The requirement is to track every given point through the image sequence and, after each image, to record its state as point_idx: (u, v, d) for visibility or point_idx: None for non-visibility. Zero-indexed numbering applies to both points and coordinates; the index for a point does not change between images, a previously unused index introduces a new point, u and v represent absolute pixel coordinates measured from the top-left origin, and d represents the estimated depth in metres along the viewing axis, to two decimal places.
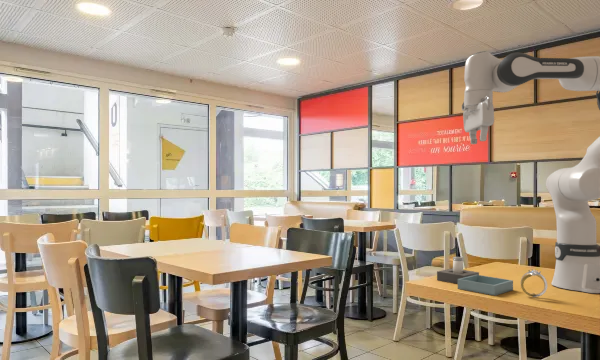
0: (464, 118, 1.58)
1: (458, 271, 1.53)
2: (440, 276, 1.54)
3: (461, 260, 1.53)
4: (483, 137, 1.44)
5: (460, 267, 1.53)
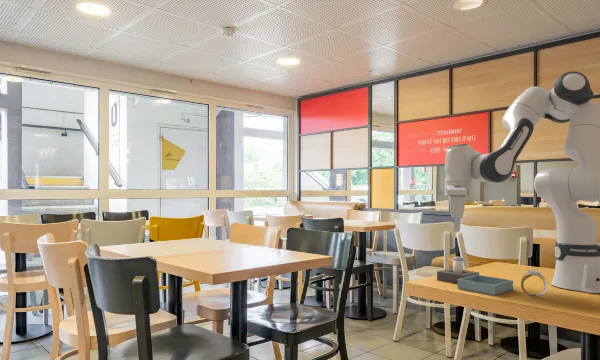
0: None
1: (458, 271, 1.53)
2: (440, 276, 1.54)
3: (461, 260, 1.53)
4: None
5: (460, 267, 1.53)
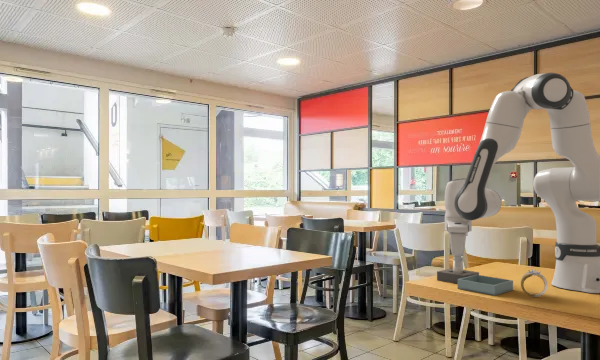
0: None
1: (458, 271, 1.53)
2: (440, 276, 1.54)
3: (461, 260, 1.53)
4: None
5: (460, 267, 1.53)
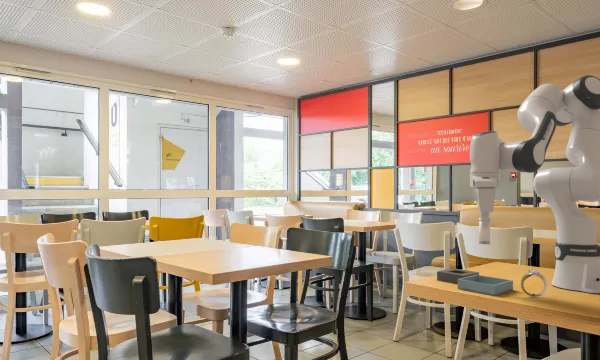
0: None
1: (485, 233, 1.40)
2: (440, 276, 1.54)
3: (488, 221, 1.41)
4: None
5: (487, 228, 1.40)
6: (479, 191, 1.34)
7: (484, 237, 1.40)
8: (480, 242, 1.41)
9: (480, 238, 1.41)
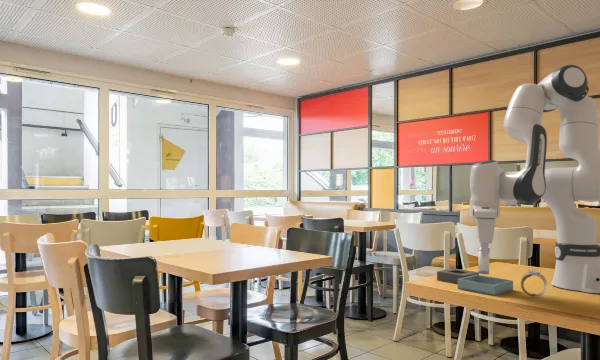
0: None
1: (484, 263, 1.40)
2: (440, 276, 1.54)
3: (488, 251, 1.40)
4: None
5: (486, 258, 1.40)
6: (479, 221, 1.34)
7: (483, 267, 1.40)
8: (479, 272, 1.41)
9: (479, 268, 1.41)
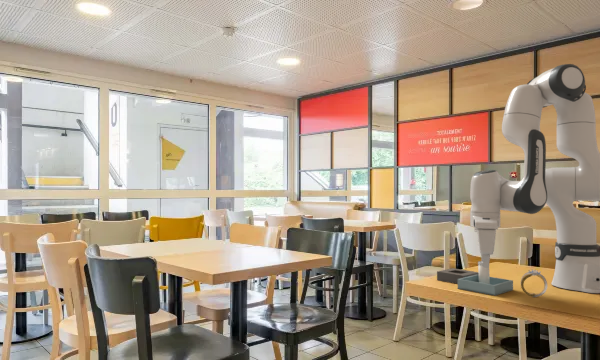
0: None
1: (485, 277, 1.40)
2: (440, 276, 1.54)
3: None
4: None
5: (487, 273, 1.40)
6: (479, 233, 1.34)
7: (484, 282, 1.40)
8: None
9: (480, 282, 1.41)
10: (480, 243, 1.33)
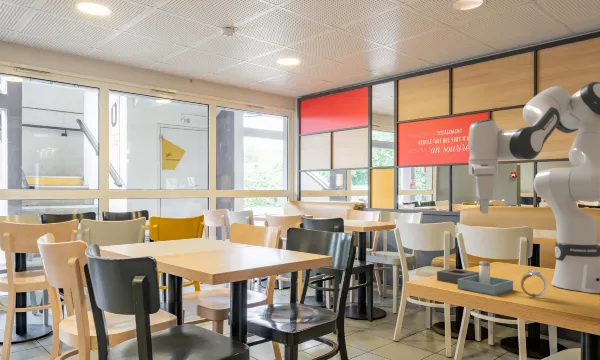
0: None
1: (485, 277, 1.40)
2: (440, 276, 1.54)
3: (488, 265, 1.40)
4: None
5: (487, 273, 1.40)
6: (478, 178, 1.36)
7: (484, 282, 1.40)
8: None
9: (480, 282, 1.41)
10: (479, 188, 1.35)
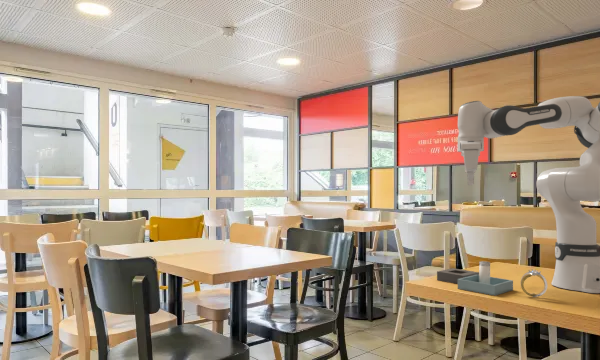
0: None
1: (485, 277, 1.40)
2: (440, 276, 1.54)
3: (488, 265, 1.40)
4: None
5: (487, 273, 1.40)
6: (465, 152, 1.53)
7: (484, 282, 1.40)
8: None
9: (480, 282, 1.41)
10: (465, 161, 1.52)
